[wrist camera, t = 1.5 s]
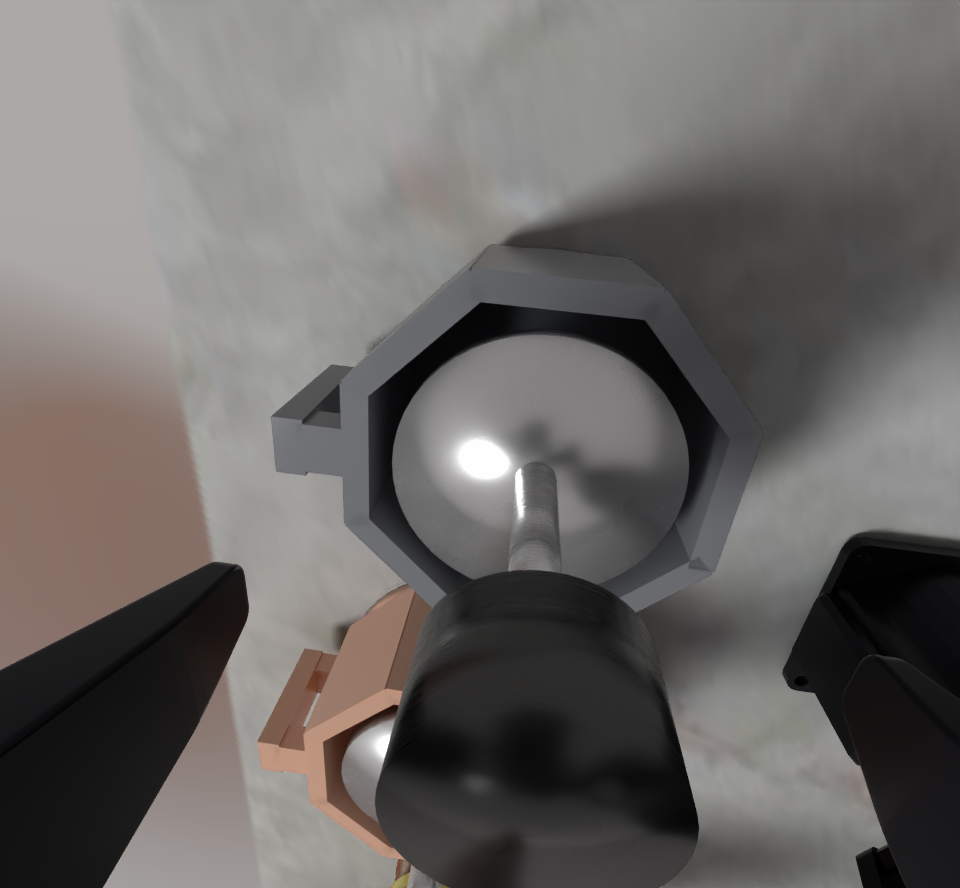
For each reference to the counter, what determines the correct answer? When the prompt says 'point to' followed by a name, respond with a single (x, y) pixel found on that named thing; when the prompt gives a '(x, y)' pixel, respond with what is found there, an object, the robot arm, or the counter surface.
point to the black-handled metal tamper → (373, 773)
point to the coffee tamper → (538, 624)
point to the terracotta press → (344, 706)
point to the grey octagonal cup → (510, 307)
